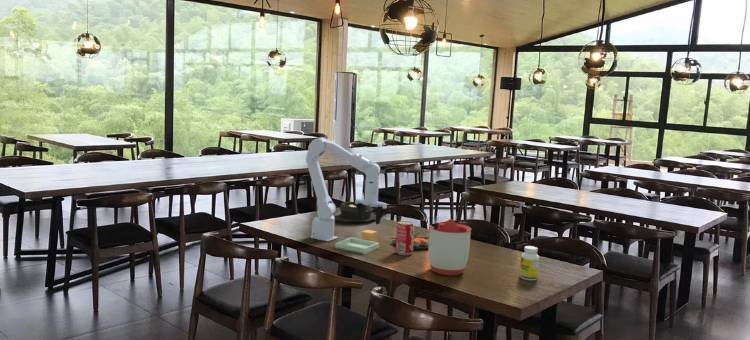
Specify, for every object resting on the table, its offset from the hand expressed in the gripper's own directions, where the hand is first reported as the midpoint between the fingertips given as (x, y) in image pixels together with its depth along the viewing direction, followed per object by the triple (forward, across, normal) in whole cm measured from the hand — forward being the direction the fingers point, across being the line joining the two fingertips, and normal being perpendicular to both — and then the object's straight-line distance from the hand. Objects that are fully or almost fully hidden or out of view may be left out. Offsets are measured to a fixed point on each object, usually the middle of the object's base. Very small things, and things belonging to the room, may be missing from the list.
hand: (370, 222), depth 259 cm
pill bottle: (+9, +71, -4) cm, 72 cm away
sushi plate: (+10, +16, +17) cm, 25 cm away
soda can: (+9, +20, -5) cm, 22 cm away
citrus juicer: (+9, +43, -16) cm, 47 cm away
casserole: (+9, -27, +32) cm, 43 cm away
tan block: (+9, 0, 0) cm, 9 cm away
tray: (+9, +1, -11) cm, 14 cm away
